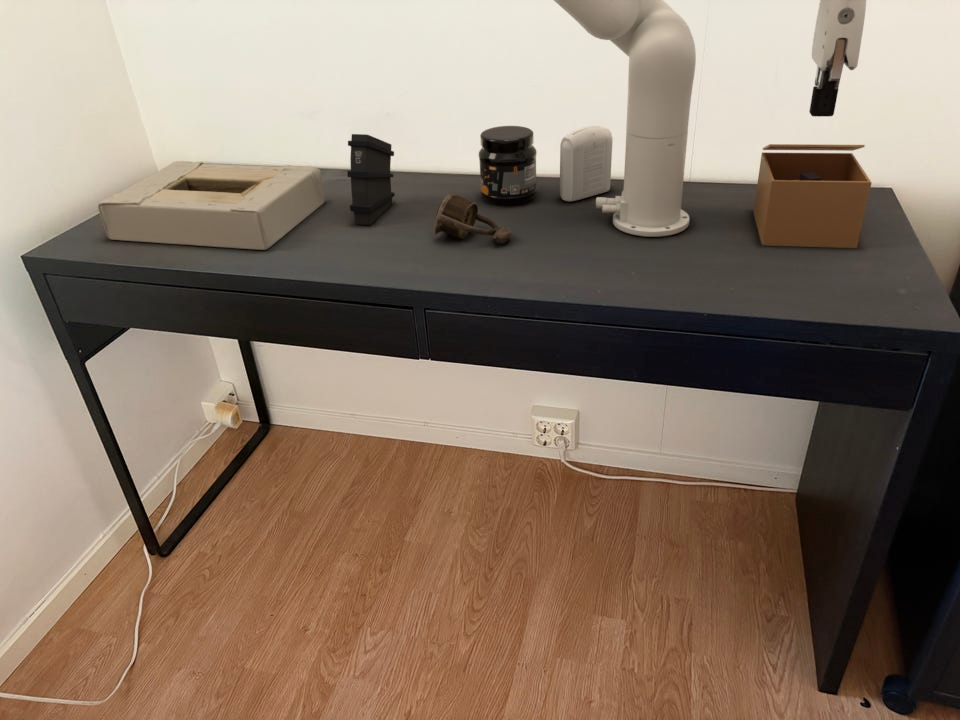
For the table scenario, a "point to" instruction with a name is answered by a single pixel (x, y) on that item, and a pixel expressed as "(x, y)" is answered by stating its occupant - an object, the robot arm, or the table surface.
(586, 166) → the white rounded upright block
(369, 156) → the black banded case
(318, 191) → the box
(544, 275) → the table surface
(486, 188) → the supplement container
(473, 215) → the brown knobbed piece
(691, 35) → the robot arm
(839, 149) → the flap
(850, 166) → the carton
